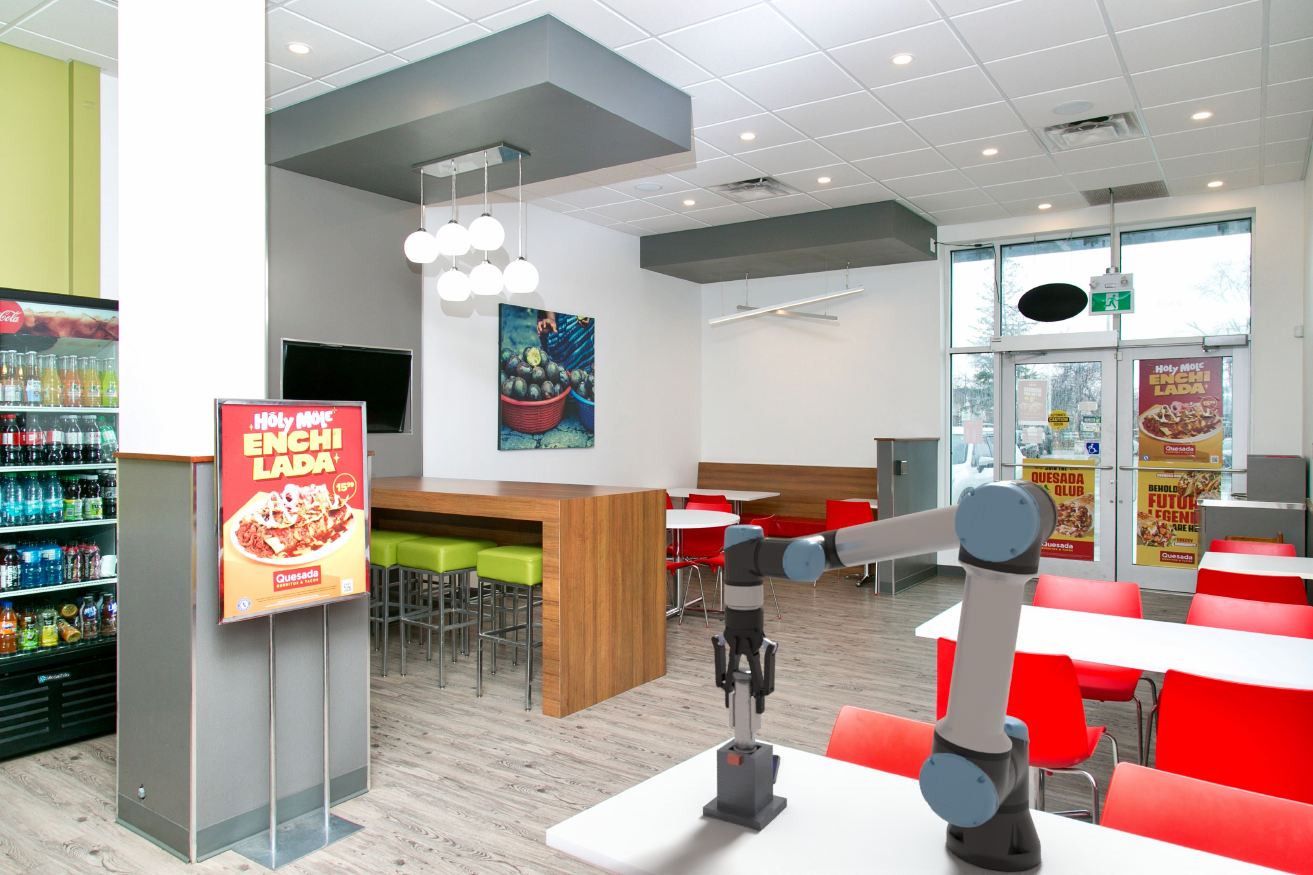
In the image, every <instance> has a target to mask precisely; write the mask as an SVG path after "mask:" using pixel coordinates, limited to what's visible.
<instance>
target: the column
mask: <svg viewBox="0 0 1313 875" xmlns="http://www.w3.org/2000/svg"><path fill="white" fill-rule="evenodd" d="M732 678H733V679H734V727H733V729H734V738H735V746H734V751H737V752H742V753H746V754H753V753H754V752H755V751H757V748H756V746H755V742H756V732H751V697H752V696H753V695H755V694H754V688H753V683H752V674H751V672H750V667H739V668H738V669H736V670H734V671H732Z"/></svg>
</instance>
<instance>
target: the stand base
mask: <svg viewBox="0 0 1313 875" xmlns="http://www.w3.org/2000/svg"><path fill="white" fill-rule="evenodd" d="M734 746H735V737H734V738H733V739H731V740H730V741H728V742H727V743H725V744H724V745H723V746H721V747H720V748H718V749H716V796H715V797H714V798H712V799H711V800H710V801H709V802H707V803H706V804H705V805H703V806H702V816H705V817H709V818H711V819H717V820H719V821H723V822H726V823H727V822H728V823H731V824H734V825H738V826H742V827H745V828H749V829H753V830H756V831H760V832H761V831H762V830H763V829H764V828H765V827H766V826H767V825H769V824H770V822H772V821H773V820H774V819H775V818H776V817H777V816H778V815H779V814H780V813H781V812H782V811H783V810H784V809H786V808H787V807H788V798H787V797H783V796H778V795H776V794H774V784H773V755H774V745H772V744H768V743H764V742H758V741H755V746H756V748H757V751H755V752H754V753H753V754H746V753H742V752H737V751H734Z"/></svg>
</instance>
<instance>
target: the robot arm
mask: <svg viewBox="0 0 1313 875" xmlns="http://www.w3.org/2000/svg"><path fill="white" fill-rule="evenodd" d="M1058 521H1059V512H1058V506H1057V504H1056V501H1055V499H1054V498H1053V496H1052V495H1051V494H1050V492H1048V490H1047V489H1045V488H1044V487H1043V486H1041V485H1039V484H1038V483H1035V482H1033V481H1030V480H1026V479H1016V478H1015V479H1009V480H993V481H988V482H984V483H982V484H980V485H978V486H977V487H975V488H972V490H970V491H969V492H967V493H966V494H965V496H964V497H963V498H962V499H961V500H960V502H959V503H955V504H952V505H951V504H950V505H947V506H943V507H938V508H932V509H927V510H922V511H918V512H913V513H909V514H904V515H900V516H895V517H890V518H885V519H880V520H875V521H871V522H866V523H862V524H857V525H856V524H855V525H852V526H847V527H843V528H842V527H841V528H838V529H833V530H827V531H826V530H825V531H822V532H817V533H813V534H809V535H803V536H798V537H797V536H796V537H791V538H778V537H776V538H774V537H767V536H764V535H765V534H764V529H763V528H762V526H760V525H755V524H754V525H753V524H734V525H729V526H728V527H726V528H725V530H724V541H723V557H724V558H723V559H724V561H723V562H724V563H723V564H724V590H723V591H724V592H723V594H724V595H723V596H724V601H723V602H724V605H726V606H725V607H724V627H725V628H724V630H723V633H718V634H715V635H713V636H712V637H711V638H710V641H711V643H712V646H713V650H714V678H715V686H716V687H717V689H719V688H720V689H722V690H723V691H724V702H725V703H724V706H725V708H726V709H728V723H729V724H728V728H729V729H730V728H731V729H732V728H733V729H734V679H733V678H732V671H734V670H736V669H738V668H740V667H739V666H740V662H741V657H742V655H743V656H745V657H746V661H747V662H748V666H749V667H748V668H750V672H751V674H752V683H753V688H754V694H755V695H753V696H752V697H751V732H755V733H756V732H758V731H759V730H761V729H762V720H761V719H762V718H761V717H762V714H764V713H765V711H766V704H765V703H766V696H770V695H771V694H773V693H774V692H775V681H776V680H775V679H776V677H775V676H776V654H777V650H778V648H779V642H778V641H775V640H774V641H771V640H770V639H769V638H767V637H766V634H765V631H764V627H765V626H764V625H765V624H764V623H765V622H764V621H765V618H764V616H765V615H764V614H765V611H764V610H765V609H764V608H763V607H762V605H763V604H764V603H765V602H764V578H768V579H777V580H783V581H784V580H785V581H794V582H796V583H801V582H806V583H813V582H816V581H818V580H819V579H820V577H821V576H822V574H823V573H824V572H828V571H834V570H840V569H845V568H850V567H856V566H861V565H866V564H874V563H878V562H884V561H890V560H896V559H902V558H908V557H913V556H919V555H925V554H932V553H937V552H942V551H948V550H954V549H959V550H958V557H957V562H958V563H959V565H961V567H962V569H964V571H965V579H964V580H965V581H964V587H963V588H964V589H963V596H962V601H961V602H962V603H961V610H960V616H959V617H960V618H959V622H958V630H957V637H956V645H955V651H954V659H953V666H952V672H951V673H952V674H951V680H950V687H949V695H948V702H947V709H946V715H945V716H944V717H942V718H941V719H939V720H937V721H936V722H935V725H934V729H933V736H932V743H931V749H930V756H928V757H926V759H925V760H924V762H922V766H921V767H920V770H919V775H918V784H919V785H918V786H919V789H920V792H921V795H922V797H923V799H924V801H925V802H926V803H927V805H928V806H929V807H930V809H931V810H932V812H934V814H936V815H937V817H939V818H941V820H943V821H945V822H947V826H946V835H945V836H946V839H945V840H946V841H945V842H946V846H947V848H948V849H949V850H950V851H951V853H953V854H954V855H955V856H956V857H959V859H962V860H964V861H965V862H967V863H970V864H972V865H975V866H979V867H982V868H985V869H990V870H995V871H1005V872H1014V871H1015V872H1018V871H1019V872H1020V871H1025V870H1029V869H1032V868H1034V867H1036V866H1038V865H1039V864H1040V862H1041V859H1042V845H1041V840H1040V838H1039V835H1038V832H1037V828H1036V826H1035V823H1034V820H1033V818H1032V814H1031V812H1030V776H1029V775H1030V758H1029V757H1030V750H1029V749H1030V748H1029V745H1030V738H1029V728H1028V726H1027V724H1026V723H1025V722H1024V721H1023V720H1021V719H1019V718H1017V717H1014V716H1010V715H1007V709H1008V703H1009V696H1010V695H1009V694H1010V687H1011V682H1012V674H1013V670H1014V669H1013V668H1014V660H1015V654H1016V647H1017V641H1018V640H1017V639H1018V633H1019V628H1020V627H1019V626H1020V619H1021V613H1022V605H1023V600H1024V599H1023V598H1024V592H1025V587H1026V586H1025V584H1026V583H1028V582H1029V581H1030V580H1031V579H1033V578H1035V577H1036V576H1037V575H1038V572H1039V566H1040V560H1041V553H1042V546H1043V544H1045V543H1046V542H1047V541H1048V540H1049V539H1050V538H1051V537H1052V536H1053V534H1054V532H1055V531H1056V529H1057V526H1058ZM726 644H727V645H728V646H729V653H728V663H727V654H726ZM762 646H763V651H764V656H763V670H762V665H761V659H760V658H761V652H760V649H761V647H762Z"/></svg>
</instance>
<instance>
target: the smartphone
mask: <svg viewBox="0 0 1313 875" xmlns="http://www.w3.org/2000/svg"><path fill="white" fill-rule="evenodd" d="M780 761H781V756H780V755H778V754H773V785H774V784H776V782H777V777H778V771H779V767H780V765H781V762H780Z"/></svg>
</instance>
